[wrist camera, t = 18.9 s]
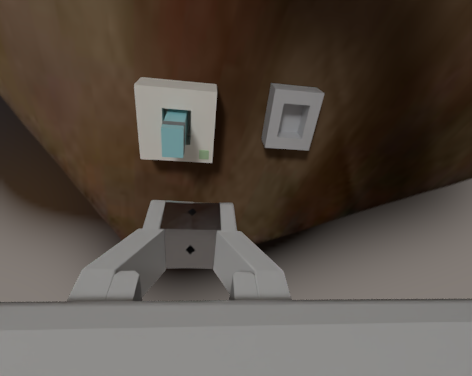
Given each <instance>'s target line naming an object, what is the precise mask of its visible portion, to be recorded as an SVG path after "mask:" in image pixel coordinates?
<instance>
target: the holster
mask: <svg viewBox="0 0 472 376" xmlns="http://www.w3.org/2000/svg"><path fill="white" fill-rule="evenodd" d="M323 97H324V93H323V92H322V91H321V90H319V89H318V88H316V87H306V86H295V85H285V84H275V83H271V86H270V92H269V98H268V103H267V109H266V115H265V121H264V127H263V133H262V142H263V144H264V147H265V148H277V149H292V150H307V151H309V148H310V144H311V140H312V137H313V133H314V130H315V126H316V122H317V119H318V115H319V112H320V108H321V104H322V101H323Z"/></svg>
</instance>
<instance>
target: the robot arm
mask: <svg viewBox="0 0 472 376" xmlns="http://www.w3.org/2000/svg"><path fill="white" fill-rule="evenodd" d="M166 268H204V269H205V268H206V269H213V270H214V272H215V273H216V275H217V276H218V277H219V279H220V280H221V282H222V283H223V285H224V286H225V288H226V289H227V291H228V292H229V294H230V297H229V300H215V301H142V297H143V296H144V295H145V294H146V292H147V291H148V290H149V289H150V288H151V287H152V285H153V284H154V283H155V282H156V281H157V279H158V278H159V277H160V276H161V275H162V273H164V271H165V270H166ZM0 376H472V299H371V300H370V299H366V300H365V299H364V300H363V299H361V300H292V299H291V296H290V292H289V289H288V285H287V282H286V278H285V275H284V271H283V270H282V269H281V268H280V267H279V266H277V265H276V264H275V263H274V262H273V261H272V260H271V259H270V258H269V257H268V256H267V255H266V254H265V253H263V252H262V251H261V250H260V249H259V248H258V247H257V246H256V245H255V244H254V243H253V242H252V241H251V240H250V239H249V238H247V237H246V236H245V235H244V234H243V233H242V232H241V231H237V227H236V219H235V212H234V204H233V203H197V202H183V201H165V200H152V201H151V202H150V206H149V209H148V212H147V216H146V219H145V222H144V226H143V229H137V230H136V231H135V232H133V233H132V234H130V235H129V236H128V237H126V238H125V239H124V240H122V241H121V242H119V243H118V244H117V245H115V246H114V247H112V248H111V249H110V250H108V251H107V252H106V253H104V254H103V255H101V256H100V257H99V258H97V259H96V260H94V261H93V262H92V263H90V264H89V265H87V266H86V267H85V268H83V269H82V271H81V273H80V275H79V277H78V279H77V281H76V283H75V285H74V287H73V289H72V292H71V294H70V296H69V298H68V300H67V302H0Z"/></svg>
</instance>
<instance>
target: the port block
mask: <svg viewBox="0 0 472 376" xmlns="http://www.w3.org/2000/svg"><path fill="white" fill-rule="evenodd" d="M134 92H135V103H136V114H137V125H138V137H139V148H140V159H150V160H167V161H184V162H202V163H212V160H213V146H214V131H215V117H216V103H217V84H208V83H198V82H187V81H177V80H166V79H155V78H145V77H141V78H140V79H139V80H138V81H137V82H136V83H135V84H134ZM168 109H178V110H188V133H187V139H186V145H185V153H184V156H183V158H173V157H162V143H161V126H162V122H163V121H164V119H165V116H166V114H167V111H168Z"/></svg>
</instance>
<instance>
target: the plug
mask: <svg viewBox="0 0 472 376" xmlns="http://www.w3.org/2000/svg"><path fill="white" fill-rule="evenodd" d="M187 133H188V110H178V109H168V111H167V114H166V116H165V119H164V121H163V122H162V126H161V143H162V157H173V158H183V156H184V153H185V145H186V139H187Z"/></svg>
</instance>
